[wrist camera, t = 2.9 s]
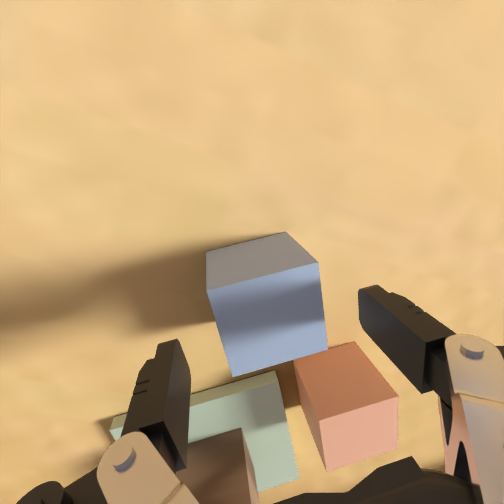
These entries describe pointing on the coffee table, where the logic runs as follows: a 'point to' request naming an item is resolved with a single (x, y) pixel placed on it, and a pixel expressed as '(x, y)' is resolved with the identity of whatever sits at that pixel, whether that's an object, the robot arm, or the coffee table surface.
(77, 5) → the coffee table surface
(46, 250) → the coffee table surface
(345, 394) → the terracotta block
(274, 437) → the baseplate
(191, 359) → the coffee table surface
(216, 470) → the walnut block
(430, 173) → the coffee table surface
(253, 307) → the slate block
